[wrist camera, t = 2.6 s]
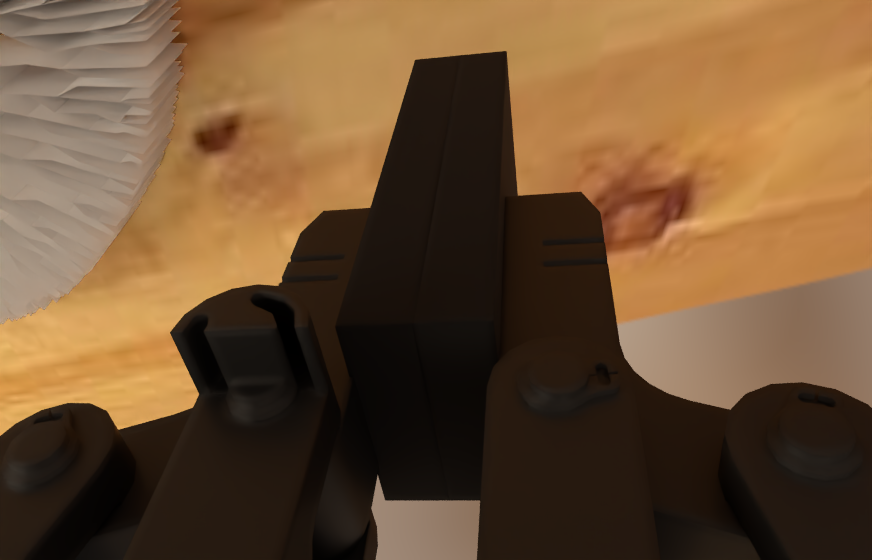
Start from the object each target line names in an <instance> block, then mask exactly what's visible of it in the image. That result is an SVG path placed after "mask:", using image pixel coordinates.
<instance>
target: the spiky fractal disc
mask: <svg viewBox="0 0 872 560" xmlns="http://www.w3.org/2000/svg"><path fill="white" fill-rule="evenodd" d="M178 1H179V0H0V33H2V34H4V35H0V324H4V323H5V321H6V320H7V319H8V318H9V319H10V320H11V321H13V320H14V319H16V320H18V319H19V318H20V319H21V318H22V317H23V316H24V317H26V315H27V314H28V313H29V314H30V316H31V315H32V314H33V313H36V311H37V310H38V309H39V307H40V308H42V309H44V310H45V309H46V307H47V306H48V305H49V303H50V302H51V301H52V299H53V300H54V301H55V302H56V303H57V302H58V300H59V299H60V298H61V296H62V297H63V296H64V295H65V294H69V292H70V291H71V290H72V289H73V287H75V286H76V285H78V284H79V283H80V281H81V280H82V279H83V277H84V276H85V275H87V274H88V273H89V272H90V271H91V270H92V269H93V267H94V266H95V265H96V263H97V262H98V261H99V259H100V258H101V257H102V255H103V254H104V253H105V251H106V250H107V249H108V247H109V246H110V244H111V243H112V242H113V240H114V239H115V238H116V236H117V235H118V234H119V232H120V231H121V229H122V228H123V227H124V225H125V224H126V223H127V221H128V220H129V219H130V217H131V215H132V214H133V213H134V211H135V210H136V209H137V207H138V206H139V204H140V203H141V202H142V201H141V200H140V199H141V198H142V196H143V195H144V194H145V192H146V191H147V189H146V188H147V187H148V186H149V184H150V183H151V182H152V180H153V179H154V177H155V176H156V175H154V173H155V171H156V170H157V169H158V167H159V166H160V165H161V164H160V162H161V160H162V159H163V157H162V156H163V155H164V154H165V152H163V151H164V150H165V149H166V146H167V145H168V144H169V142H170V141H171V140H172V139H170V138H167V135H168V134H169V133H170V131H171V130H172V127H173V126H174V124H173V122H174V121H175V120H174V119H172V118H173V117H174V115H175V114H174V113H172V112H173V111H174V110H175V108H176V106H173V104H174V103H175V102H176V101H177V100H178V98H175V97H176V96H177V95H178V94H179V92H180V91H176V89H177V88H178V86H179V85H176V84H177V83H178V82H179V80H180V79H181V78H182V76H183V75H184V74H185V73H182V72H179V71H180V70H181V69H182V68H183V67H184V66H178V65H179V64H180V63H181V61H175V60H176V59H177V58H178V56H179V55H180V54H181V53H182V52H183V51H182V50H183V49H184V48H185V46H186V45H187V44H188V43H170V42H171V41H172V40H173V39H174V38H175V37H176V36H177V35H178V34H179V33H180V32H171V31H172V30H173V29H174V28H175V27H176V26H177V25H178V24H179V23H180V22H181V21H182V20H169V19H170V18H171V17H172V16H173V15H174V14H175V13H176V12H177V11H178V10H179V9H180V8H181V7H178V8H171V7H172V6H173V5H174V4H175V3H177V2H178Z"/></svg>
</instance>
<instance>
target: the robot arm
mask: <svg viewBox="0 0 872 560" xmlns="http://www.w3.org/2000/svg"><path fill="white" fill-rule="evenodd" d="M290 258H291V262H288V264H287V267H286V269H285V272H284V274H283V276H282V283H280V284H279V286H270V285H252V286H246V287H240V288H235V289H231V290H228V291H226V292H223V293H221V294H218V295H216V296H213V297H211V298H209V299H206V300H205V301H203V302H202V303H201V304H199V305H198V306H196V307H195V308H193V309H192V310H190V311H189V312H188V313H186V314H185V315H184V316H183V317H182V319H181V320H180V321H179V322H178V323H177V325H176V326H175V327H174V328H173V329H172V331H171V332H170V334H171V336H172V338H173V340H174V342H175V344H176V346H177V348H178V350H179V352H180V355H181V357H182V359H183V361H184V363H185V365H186V367H187V369H188V371H189V373H190V376H191V378H192V380H193V382H194V384H195V386H196V388H197V390H198V392H199V396H198V398H197V401H196V403H195V405H194V407H193V408H191V409H188V410H185V411H183V412H180V413H177V414H174V415H171V416H167V417H163V418H160V419H156V420H153V421H149V422H145V423H142V424H138V425H135V426H131V427H127V428H124V429H120V430H118V429H117V427H116V426H115V424H114V422H113V421H112V419H111V417H110V416H109V414H108V412H107V411H106V410H103V409H101V408H99V407H97V406H95V405H93V404H90V403H66V404H63V405H59V406H55V407H52V408H48V409H44V410H41V411H39V412H37V413H35V414H34V415H32V416H30V417H28V418H26V419H24V420H22V421H20V422H18V423H16V424H15V425H14V426H12V427H11V428H10V429H9V430H7V431H6V432H5V433H4V434H2V435H1V436H0V560H375V559H376V553H377V547H378V542H377V526H376V522H375V520H374V516H373V513H372V510H371V506H372V502H373V496H374V491H375V486H376V480H377V475H378V476H379V480H380V483H381V487H382V490H383V494H384V497H385V500H480V516H479V533H478V551H477V560H872V408H871V407H870V406H869V405H868V404H866V403H863V402H861V401H859V400H857V399H855V398H853V397H851V396H849V395H847V394H845V393H843V392H840V391H838V390H836V389H832V388H827V387H822V386H817V385H812V384H807V383H802V382H801V383H783V384H770V385H768V386H765V387H762V388H760V389H757V390H755V391H752V392H749V393H747V394H745V395H744V396H743V397H742V398H741V399H740V401H738V403H737V404H736V405H735V406H734V407H733V408H732V409H731V410H729V409H724V408H720V407H715V406H711V405H707V404H702V403H698V402H693V401H689V400H686V399H683V398H680V397H676V396H674V395H671V394H668V393H666V392H664V391H662V390H660V389H658V388H656V387H655V386H652V385H651V384H649V383H648V382H647V381H645V380H644V379H643V378H642V377H640V376H639V375H638V374H637V373H636V372H635V371H634V370H633V369H632V367H631V366H630V365H629V363H628V362H627V361H626V359H625V358H624V355H623V352H622V349H621V346H620V342H619V335H618V328H617V322H616V315H615V308H614V302H613V295H612V288H611V282H610V275H609V268H608V264H607V255H606V248H605V242H604V235H603V228H602V221H601V214H600V212H599V211H598V209H597V208H596V207H595V206H594V205H593V204H592V203H591V202H590V201H589V200H588V199H587V198H586V197H585V196H584V195H583V193H582V192H569V193H554V194H538V195H523V196H518V194H517V181H516V168H515V155H514V142H513V129H512V116H511V103H510V90H509V77H508V65H507V52H506V51H502V52H492V53H481V54H471V55H460V56H450V57H440V58H429V59H419V60H415V62H414V66H413V69H412V72H411V76H410V79H409V82H408V85H407V89H406V92H405V95H404V99H403V102H402V105H401V109H400V112H399V115H398V119H397V122H396V125H395V129H394V132H393V135H392V139H391V142H390V145H389V148H388V152H387V155H386V158H385V162H384V165H383V168H382V172H381V175H380V178H379V182H378V185H377V188H376V192H375V195H374V198H373V202H372V205H371V208H363V209H348V210H332V211H323V212H322V213H321V214H320V215H319V216H318V217H317V218H316V219H315V220H314V221H313V222H312V223H311V224H310V225H309V226H308V227H306V228H305V229H304V230H303V231H302V232H301V233H300V236H299V238H298V241H297V243H296V245H295V248H294V250H293V253H292V255H291V257H290Z"/></svg>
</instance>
